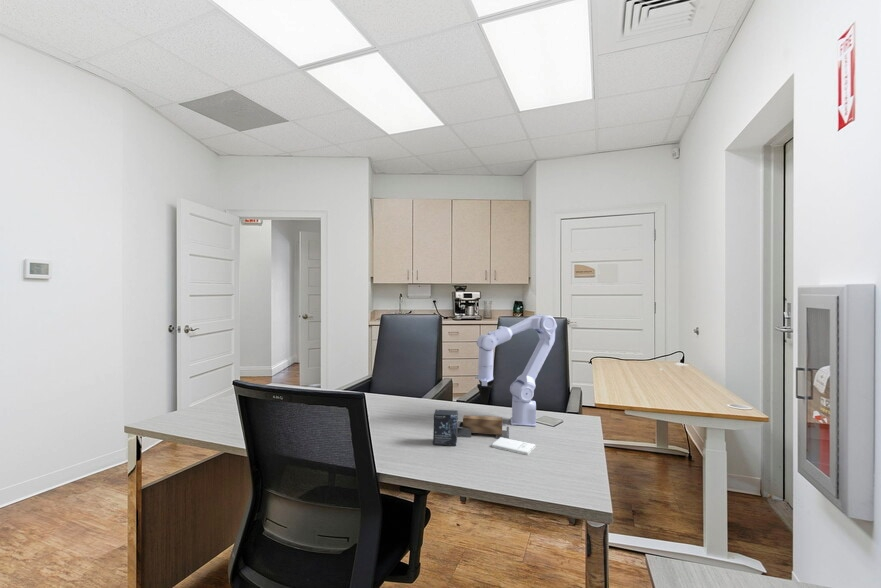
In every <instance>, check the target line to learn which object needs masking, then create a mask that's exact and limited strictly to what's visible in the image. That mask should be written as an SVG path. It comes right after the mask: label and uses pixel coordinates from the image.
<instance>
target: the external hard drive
mask: <svg viewBox="0 0 881 588" xmlns="http://www.w3.org/2000/svg"><path fill="white" fill-rule="evenodd" d="M536 447H537V446H536V444H535V443H530V442H525V441H520V440H516V439H511V438H509V439H507V438H502V437H500V438H497V439H496V440H494V442H493V443H491V448H494V449H498V450H503V451H507V450H508V452H512V453H516V452H517V454H521V455H526V456H529V455H530V454H531V452H532V451H534V449H535V448H536Z"/></svg>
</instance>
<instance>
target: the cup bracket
mask: <svg viewBox="0 0 881 588" xmlns="http://www.w3.org/2000/svg"><path fill="white" fill-rule="evenodd" d="M472 435H473V433H472V432H471V428H467V427H463V420H458V427H457V437H462V438H463V437H466V438H472Z"/></svg>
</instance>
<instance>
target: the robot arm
mask: <svg viewBox="0 0 881 588" xmlns="http://www.w3.org/2000/svg"><path fill="white" fill-rule="evenodd" d="M557 327H558V324H557V321H556V319H555V318H554V317H553V316H552V315H548V314H547V315H544V314H539V313H537V314H535V315H531V316H528V317H527V318H525V319H522V320H521V321H519V322H517V323H515V324H513V325H511V326H509V327H507V326H502V325H499V326H498V328H497V329H495V330H493V331H488V332H487V334H485V333H484V334H483V333H482V334H480V335H479V336H478V338H477V340H476V341H475V342H476V345H477V347H478V364H477V365H478V367H477V368H478V369H477V371H478V373H477V375H475V376H474V379H476V380H477V379H478V382H479V383H477V384H476V387H477V389H478V392H479V395H480V402H481V404H488V402H489V398H490V393H491V390H492V388H493V383H494V350H495V348H496V347H497V346H499V345H501V344H503V343H506V342H509V341H510V340H511V339H512V336H513V335H516V334H519V333H522V332H523V331H527V330H528V329H529V330H530V329H533V330H534V331H535V332H536V333H537V336H538V338H539V340H538V342H537V344H536V347H535V349H534V351H533V353H532V354H531V357H529V360H528V362H527V364H526V365H525V368H524V369H523V372H522V373H521V374H520V375H518V376H517V377H516V379H515V380H514V381H513V382H512V383H511V384H510V386H509V392H510V393H511V395H512V397H511V399H512V400H511V404H512V405H511V417H510V424H511V425H513V426H514V425H515V426H528V427H536V423H537V403H536V401H535V400H533V397H534V396H535V395H534V393H535V389H536V386H537V385H536V379H537V377H538V374H539V373H540V371H541V370H542V367H543V365H544V363H545V361H546V359H547V358H548V355H549V354H550V351H551V350H552V347H553V346H554V344H555V341H556V330H557Z"/></svg>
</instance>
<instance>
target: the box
mask: <svg viewBox="0 0 881 588" xmlns="http://www.w3.org/2000/svg"><path fill="white" fill-rule="evenodd" d="M458 415H459V411H458V410H454V409H453V410H450V409H447V410H446V409H435V410H434V414H433V431H432V433H433V439H432V440H433V442H432V445H434V446H450V447H451V446H452V447H456V446H457V443H458V436H457V427H458V421H459V420H458V419H459V417H458Z"/></svg>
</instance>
